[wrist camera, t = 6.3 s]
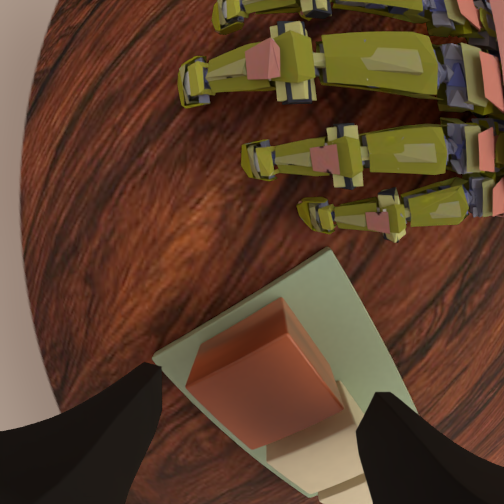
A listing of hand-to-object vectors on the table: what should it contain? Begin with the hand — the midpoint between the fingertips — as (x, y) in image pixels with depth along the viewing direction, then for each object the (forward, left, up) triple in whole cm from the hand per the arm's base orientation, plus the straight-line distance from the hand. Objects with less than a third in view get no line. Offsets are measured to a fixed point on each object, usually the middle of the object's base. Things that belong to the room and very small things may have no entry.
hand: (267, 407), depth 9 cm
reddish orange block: (0, 0, -3) cm, 3 cm away
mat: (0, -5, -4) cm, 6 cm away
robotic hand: (+14, +4, -4) cm, 16 cm away
